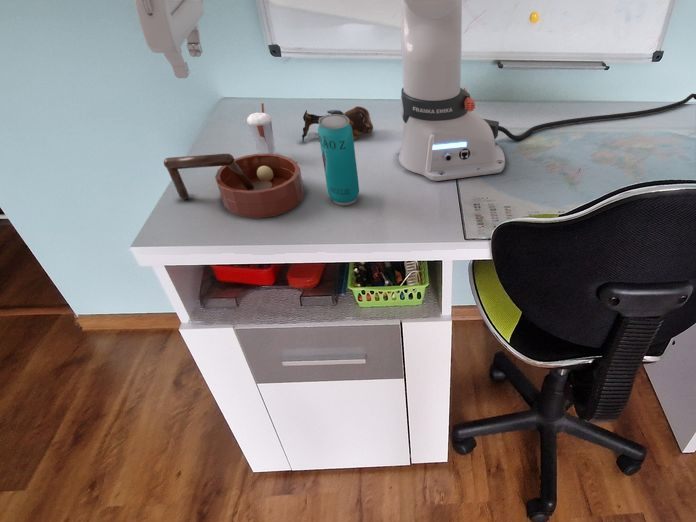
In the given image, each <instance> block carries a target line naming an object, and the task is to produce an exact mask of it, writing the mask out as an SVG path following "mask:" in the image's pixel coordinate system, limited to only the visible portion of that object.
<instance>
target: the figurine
mask: <svg viewBox="0 0 696 522" xmlns="http://www.w3.org/2000/svg"><path fill="white" fill-rule="evenodd" d="M326 113H327V114H324V115H317V114H313V113H308V110H307V109H305V111H304V114H303V115H302V120H303V121H304V127H303V128H302V132H303V133H302V135H301V141H302V143H304V142H305V138H306V137H307V136H308V133H309V130H310V127H311V126H312V125H315V124H316V125H319V119H320V118H321V117H323V116H326V115H331V114H339V115H344V116H346V117H348V118H349V123H350V125H351V127H352V132H353V140H357V138H358V135H362V134H363V135H366V134H371V133H372V132H373V130H374V124H373V122H372V120H371V114H370V112H369V110H368V109H367V108H365V107H363V106H355V107H353V108H351V109H349V110H347V111H345V112H344V111H342V110H340V109H329V110H327V111H326Z"/></svg>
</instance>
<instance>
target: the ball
mask: <svg viewBox="0 0 696 522" xmlns="http://www.w3.org/2000/svg"><path fill="white" fill-rule="evenodd" d="M257 177H258V178H259V179H260V180H261V181H271V180H272V178H273V171H272V170H271V168H269V167H268V166H261V167H259V168H258V170H257Z"/></svg>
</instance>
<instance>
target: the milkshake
mask: <svg viewBox="0 0 696 522" xmlns="http://www.w3.org/2000/svg"><path fill="white" fill-rule="evenodd" d="M260 105H261V106H260V107H261V112H254V113H250V115H248V116H247V118H246V121H247V124H248V127H249V131H250V132H251V136H252V138H253V142H254V145H255V147H256V150H257V154H277V150H276V144H275V137H274V130H273V122H272V117H271V116H270V114H268V113H266V112H265V105H264V102H261V104H260Z"/></svg>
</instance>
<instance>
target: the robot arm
mask: <svg viewBox="0 0 696 522" xmlns="http://www.w3.org/2000/svg"><path fill="white" fill-rule="evenodd" d="M133 3H134V7H135V11H136V15H137V18H138V21H139V24H140V28H141V31H142V34H143V35H142V36H143V37H144V40H145V43H146V46H147V47H148V48H149V50H150V51H151V52H152V53H153V54H154V53H155V54H163V55H164V57H165V58H166V60H167V61H168V63H169V64H170V66H171V67H172V70H173V73H174V76H175V77H176V78H177V79H187V78H188V77H189V75H190V73H191V71H190V68H189V65H188V62H187V61H185V59H184V57H183V55H182V53H183V50H182V48H181V47H182V46H183V44H184V42H185V41H186V48H187V50H188V54H189V56H190V57H196V58H198V57H201V55H203V52H204V51H203V47H202V44H201V43H202V42H201V36H200V26H199V21H200V20H201V19H202V18H203V16H204V15H205V3H204V0H133ZM462 7H463V1H462V0H400V17H401V18H400V26H401V27H400V28H401V29H400V30H401V33H400V37H401V39H400V42H401V65H402V67H401V68H402V88H401V93H400V107H401V110H400V111H401V118H402V120H403V127H402V129H403V130H402V138H401V145H400V149H399V150H400V151H399V153H398V163H399V164H400V165H401V166H402V167H403V168H404V169H406V170H408V171H410V172H412V173H415V174H419V175H422V176H424V177H425V178H427V179H429V180H430V181H433V182H439V181H440V182H441V181H446V180H455V179H463V178H470V177H477V176H485V175H492V174H493V175H494V174H500V173H502V172H503V171H504V170H505V167H506V156H505V153H504V151H503V149H502V148H501V147H500V145H499V144H497V142H496V139H497V137H498V136H499V132H502V133H503V134H504V135H506V136H507V137H508V138H509V139H511V140H512V141H522V140H524V139H526V138H527V137H528V136H530V135H531V134H532V133H533V132H536V131H539V130H542V129H547V128H551V127H556V126H562V125H567V124H568V125H569V124H576V123H582V122H583V123H585V122H591V121H600V120H602V121H603V120H610V119H611V120H612V119H619V118H628V117H629V118H630V117H636V116H643V115H644V116H645V115H649V114H654V113H659V112H663V111H666V110H671V109H674V108H677V107H680V106H682V105H684V104H685V105H686V104H687V103H688V102H689V101H690V100H692V99H694V100H696V93H695V94H694V93H691V94H689V95H688V96H686V98H684V99H682V100H679V101H677V102H674V103H670V104H666V105H662V106H658V107H655V108H654V107H653V108H649V109H644V110H637V111H629V112H622V113H612V114H611V113H610V114H602V115H594V116H592V115H591V116H585V117H584V116H583V117H575V118H568V119H561V120H555V121H550V122H545V123H541V124H538V125H534V126H532V127H530V128H529V129H527V130H526V131H525V132H524V133H522V134H519V135H514V134H513V133H512V132H510V130H508V128H506V127H504V126H502V125H500V121H498V120H491V119H486V118H482V117H481V115H480V116H479V115H478V114H477V113H476V112H474V110H475V109H476V103H475V100H474V99H473V98H472V97H471V94H470V93H469V92H468V91H467V89H466V87H463V88H462V87H461V82H462V81H461V79H462V77H461V76H462V46H463V45H462V22H463V21H462V20H463V19H462V18H463V17H462Z"/></svg>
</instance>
